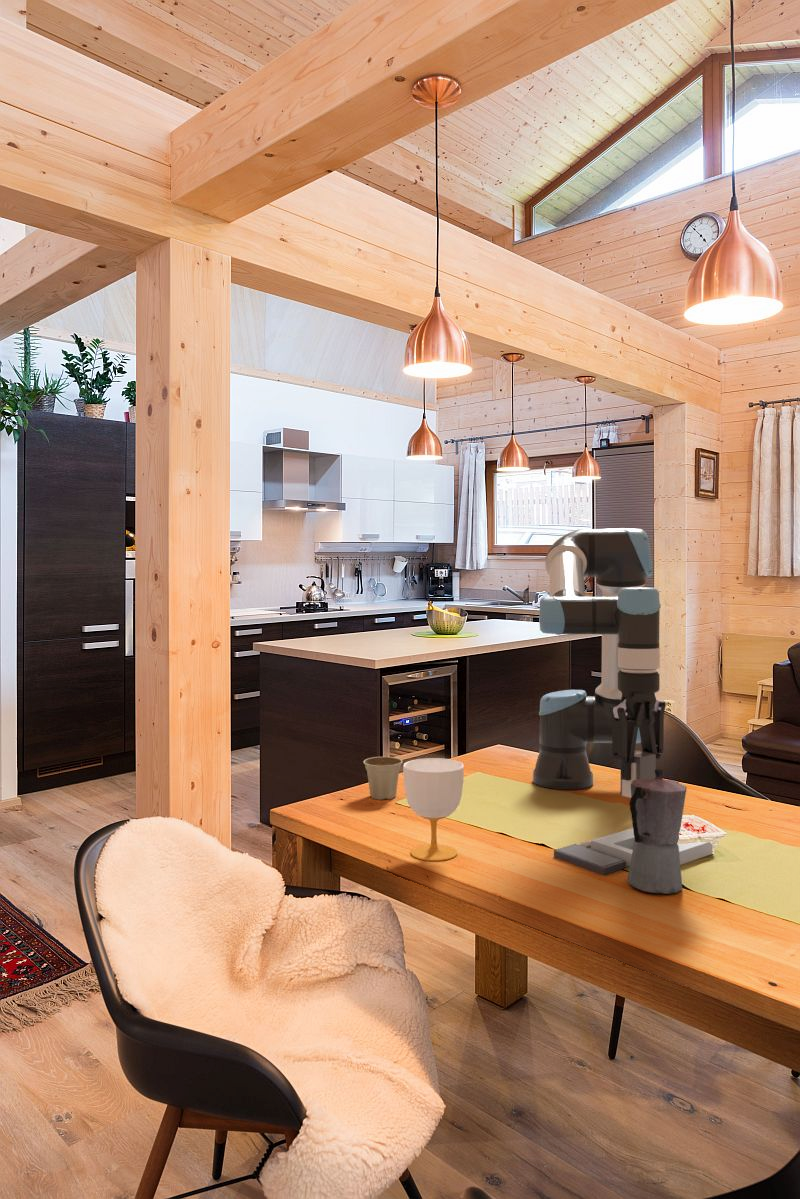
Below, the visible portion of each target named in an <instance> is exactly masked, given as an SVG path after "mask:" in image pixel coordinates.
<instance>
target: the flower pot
mask: <svg viewBox="0 0 800 1199" xmlns="http://www.w3.org/2000/svg"><path fill="white" fill-rule="evenodd" d="M363 764H364V767H365V770H366V772H367V774H366V776H367V780H368V787H369V788H368V789H369V794H370V797H371V798H372V799H375V800H379V801H383V800H385V799H387V800H392V799H394V798H396V796H397V792H398V790H397V789H398V783H399V777H400V776H399V775H400V769H401V768H402V764H403V759H401V758H398V757H393V756H373V757H369V758H366V759H364V760H363Z"/></svg>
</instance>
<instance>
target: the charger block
mask: <svg viewBox="0 0 800 1199" xmlns="http://www.w3.org/2000/svg"><path fill="white" fill-rule="evenodd" d="M627 756H628V755H627ZM656 760H657V759H656V754H653V753H648V752H643V751H641V750H638V749H635V753H634V760H633V762H634V763H636V780H637V779H650V778H655V769H657V766H656V765H657V761H656ZM620 796H621V797H625V796H622V779H621V778H620ZM625 798H626V797H625ZM627 798H628V799H630V798H629V797H627Z"/></svg>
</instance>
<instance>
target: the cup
mask: <svg viewBox="0 0 800 1199" xmlns="http://www.w3.org/2000/svg"><path fill="white" fill-rule="evenodd" d="M464 766H465V765H464V763H463V762H461V761H459V760H456V759H455V760H454V759H450V758H441V757H440V758H439V757H438V758H437V757H427V758H426V757H425V758H416V759H412V760H409V761H406V762H404V763H403V767H402V769H403V770H402V771H403V772H402V773H403V783H404V784H403V785H404V792H405V797H406V801H407V804H408V806H409V807H410V809H411V810H412V812H414V813H415V814H416V815H417V816H419V817H421V818H422V819H425V820H428V821H429V823H430V829H431V831H430V833H431V835H430V836H431V840H430V843H429V844H421V845H418V846H414V847H413V848H412V849H410V855H411V856H412V857H413V858H415V859H418V860H421V861H424V862H425V861H427V862H443V861H444V862H445V861H449V860H452V859H454V858H456V856H458V850H457V849H455V848H454V847H452V846H449V845H445V844H439V843H438V842H437V839H438V838H437V824H438V822H439V820H443V819H445V818H447V817H450V816H451V815H452V814H453V813H454V812H456V810H457V808H458V806H459V805H460V802H461V800H462V799H461V798H462V795H463V786H464V770H465V767H464Z"/></svg>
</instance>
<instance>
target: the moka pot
mask: <svg viewBox="0 0 800 1199" xmlns="http://www.w3.org/2000/svg"><path fill="white" fill-rule="evenodd" d="M664 773H665V770H663V769H661V768H656V769H655V778H650V779H637V780H633V782H632V783H631V798H630V800H629V811H630V814H631V822H632V823H631V824H632V828H633V830H634V837H635V841H634V846H633V852H632V857H631V863H630V867H629V869H628V873H627V882H628V884H629V885H630V886H631V887H633V888H635V889H637V890H640V891H642V892H646V893H652V894H661V895H664V894H666V895H668V894H677V893H679V892H680V891H682V889H683V881H682V869H681V868H682V867H681V865H680V856H679V846H678V844H677V843H678V840H679V832H681V826H682V820H683V814H684V809H685V808H684V807H685V801H686V796H687V790H688V789H687V786H686V785H684V784H680V782H679V781H677V780H672V779H666V778H663V777H664Z"/></svg>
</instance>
